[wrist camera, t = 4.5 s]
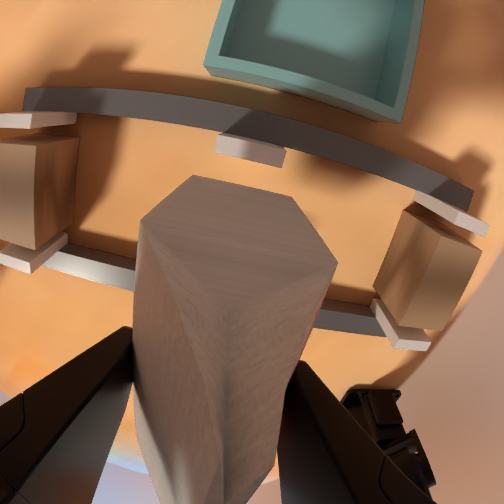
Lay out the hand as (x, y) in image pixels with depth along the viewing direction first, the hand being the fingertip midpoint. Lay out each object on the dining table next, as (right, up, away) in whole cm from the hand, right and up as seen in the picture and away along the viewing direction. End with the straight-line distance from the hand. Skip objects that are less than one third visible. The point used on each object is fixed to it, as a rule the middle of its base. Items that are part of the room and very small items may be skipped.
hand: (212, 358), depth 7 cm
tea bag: (0, +2, +5) cm, 5 cm away
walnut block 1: (-13, +8, +10) cm, 18 cm away
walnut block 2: (+12, +2, +13) cm, 18 cm away
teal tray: (+5, +17, +6) cm, 19 cm away
